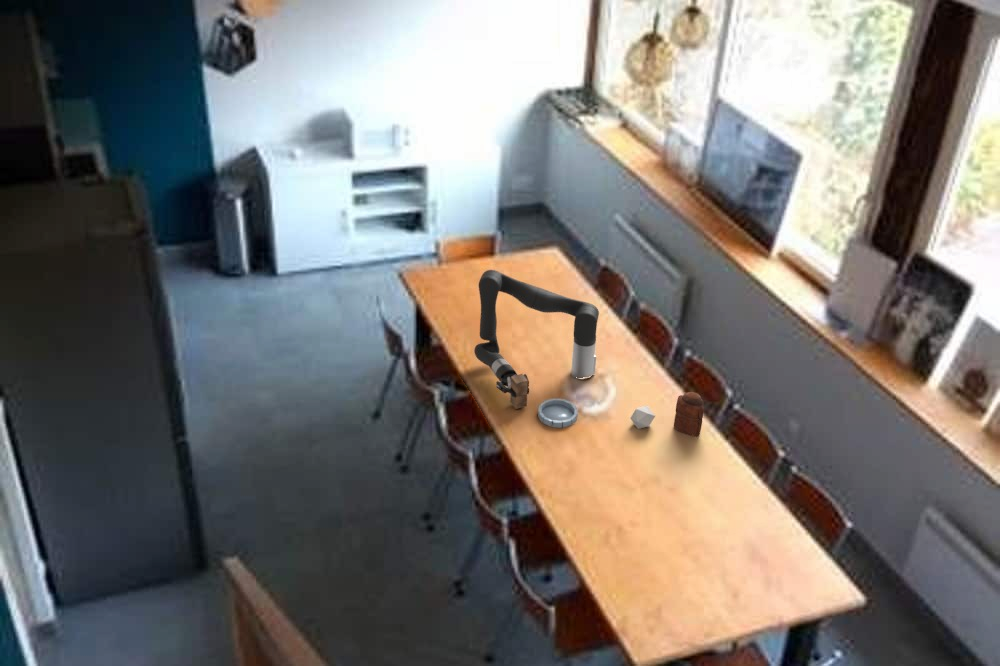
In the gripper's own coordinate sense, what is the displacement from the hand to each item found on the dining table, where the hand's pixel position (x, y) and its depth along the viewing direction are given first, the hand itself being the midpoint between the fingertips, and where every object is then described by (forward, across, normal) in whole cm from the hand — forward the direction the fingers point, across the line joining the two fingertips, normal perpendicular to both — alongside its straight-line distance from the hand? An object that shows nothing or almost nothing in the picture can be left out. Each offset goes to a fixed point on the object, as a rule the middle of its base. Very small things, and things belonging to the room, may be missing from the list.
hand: (521, 393), depth 418 cm
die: (+28, +40, +9) cm, 50 cm away
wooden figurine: (+38, +55, +9) cm, 67 cm away
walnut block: (-3, 0, +7) cm, 7 cm away
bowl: (+9, +12, +8) cm, 17 cm away
